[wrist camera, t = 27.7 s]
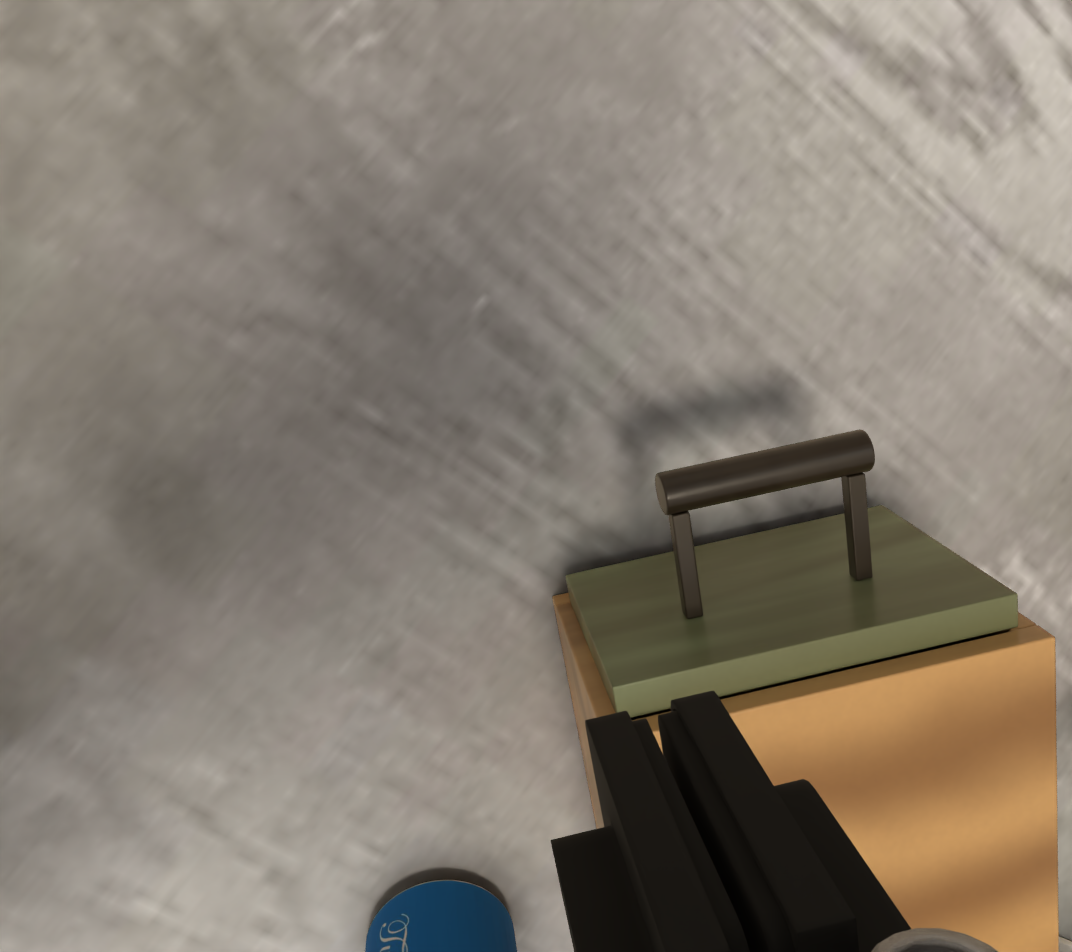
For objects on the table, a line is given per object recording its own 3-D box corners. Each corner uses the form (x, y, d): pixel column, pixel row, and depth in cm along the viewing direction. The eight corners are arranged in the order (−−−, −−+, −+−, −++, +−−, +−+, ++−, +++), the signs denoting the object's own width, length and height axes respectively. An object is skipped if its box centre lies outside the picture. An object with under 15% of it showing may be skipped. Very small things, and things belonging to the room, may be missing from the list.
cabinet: (551, 595, 38) (605, 742, 28) (886, 520, 39) (1056, 636, 29) (614, 924, 44) (679, 1150, 33) (909, 850, 45) (1061, 1047, 34)
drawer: (541, 449, 36) (584, 529, 27) (873, 379, 37) (1014, 435, 28) (624, 893, 42) (679, 1070, 34) (904, 823, 43) (1027, 979, 34)
